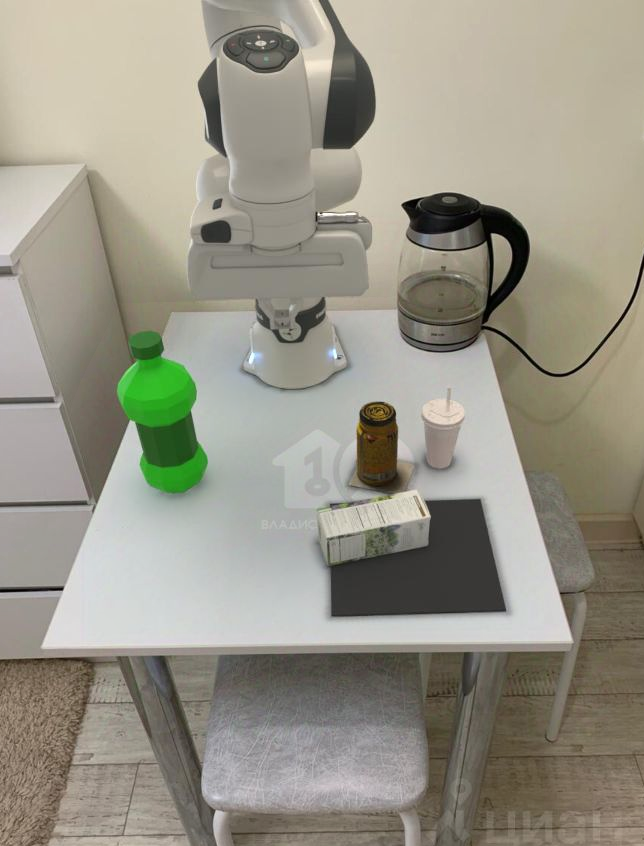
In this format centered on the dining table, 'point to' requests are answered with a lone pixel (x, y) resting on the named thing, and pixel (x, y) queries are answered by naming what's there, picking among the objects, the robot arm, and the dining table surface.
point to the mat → (426, 570)
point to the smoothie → (441, 429)
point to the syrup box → (373, 527)
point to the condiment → (379, 451)
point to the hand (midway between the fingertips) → (283, 326)
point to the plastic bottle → (162, 415)
